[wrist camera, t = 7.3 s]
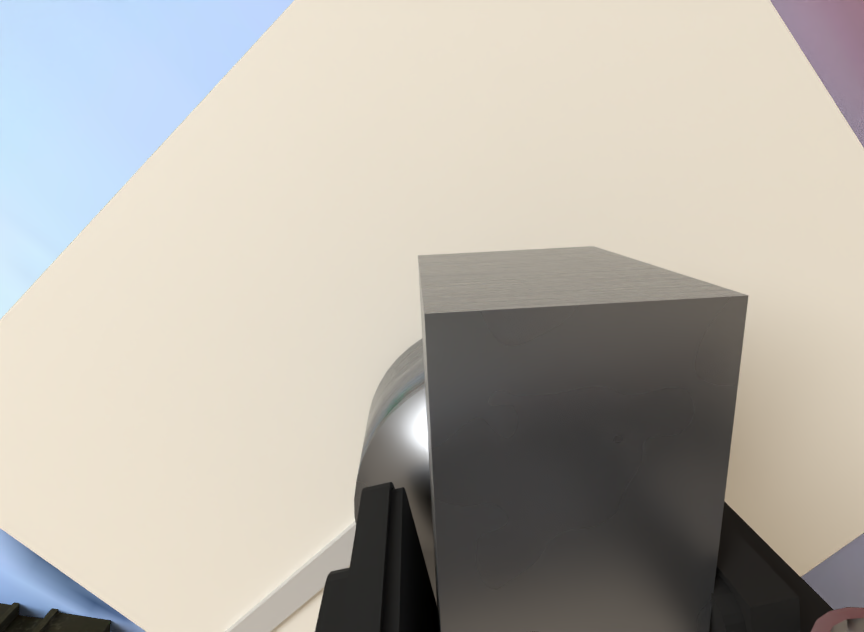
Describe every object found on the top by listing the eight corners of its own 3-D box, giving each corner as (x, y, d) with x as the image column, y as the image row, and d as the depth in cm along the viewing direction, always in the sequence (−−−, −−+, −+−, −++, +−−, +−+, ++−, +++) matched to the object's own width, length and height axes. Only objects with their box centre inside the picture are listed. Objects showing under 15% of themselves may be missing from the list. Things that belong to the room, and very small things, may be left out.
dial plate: (553, -239, 11) (579, -316, 9) (971, 391, 15) (1041, 417, 13) (-60, 418, 14) (-125, 450, 12) (432, 782, 18) (434, 843, 16)
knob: (350, 241, 11) (257, 323, 4) (611, 227, 11) (906, 287, 5) (389, 686, 14) (371, 1124, 8) (591, 670, 15) (747, 1084, 8)
